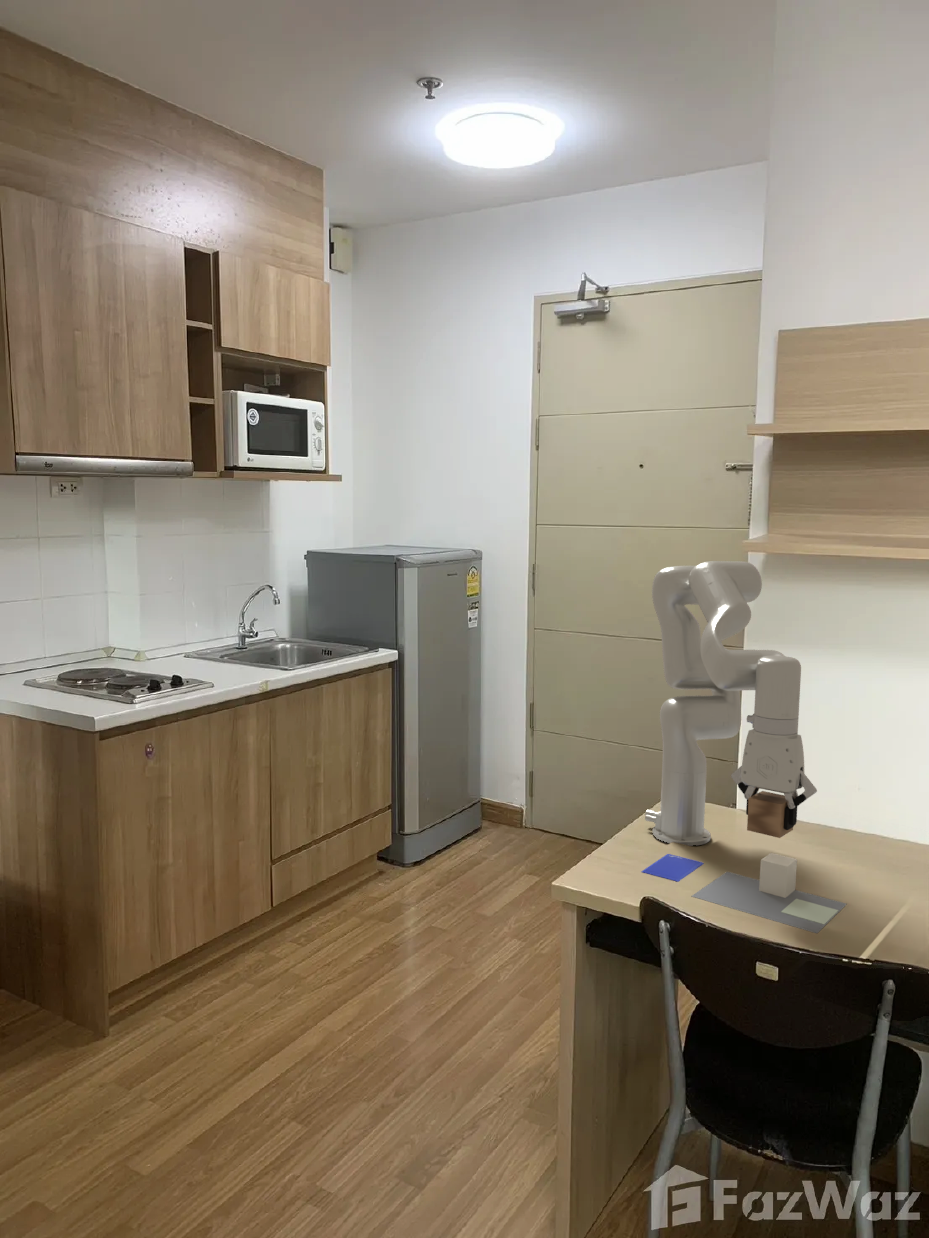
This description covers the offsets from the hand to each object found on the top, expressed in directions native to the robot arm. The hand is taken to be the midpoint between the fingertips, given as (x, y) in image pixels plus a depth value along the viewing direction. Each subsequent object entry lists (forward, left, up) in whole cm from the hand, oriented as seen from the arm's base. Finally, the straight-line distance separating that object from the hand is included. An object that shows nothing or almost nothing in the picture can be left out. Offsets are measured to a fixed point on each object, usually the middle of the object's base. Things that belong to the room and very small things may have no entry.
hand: (770, 823), depth 166 cm
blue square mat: (-21, +5, -17) cm, 27 cm away
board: (0, +2, -16) cm, 16 cm away
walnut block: (0, 0, -1) cm, 1 cm away
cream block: (-1, +7, -15) cm, 17 cm away
